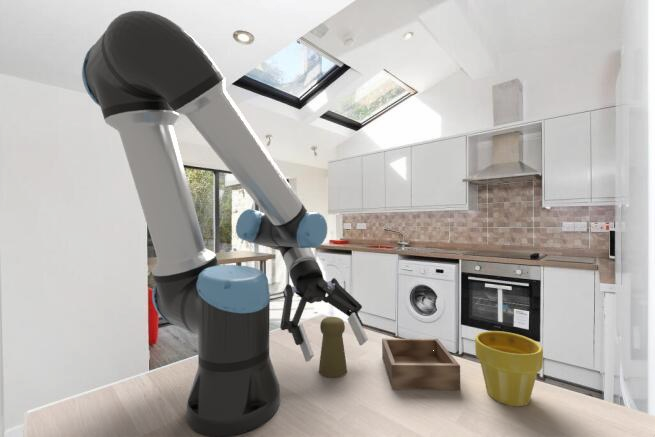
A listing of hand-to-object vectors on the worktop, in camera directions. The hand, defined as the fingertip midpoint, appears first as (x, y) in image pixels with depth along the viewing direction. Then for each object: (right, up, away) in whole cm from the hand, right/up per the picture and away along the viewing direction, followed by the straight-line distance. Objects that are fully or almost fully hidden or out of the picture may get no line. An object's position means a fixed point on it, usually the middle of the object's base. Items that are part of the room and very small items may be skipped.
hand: (338, 350), depth 62 cm
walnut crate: (+16, -5, 0) cm, 17 cm away
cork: (-1, -5, +1) cm, 5 cm away
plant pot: (+30, -5, -8) cm, 31 cm away
